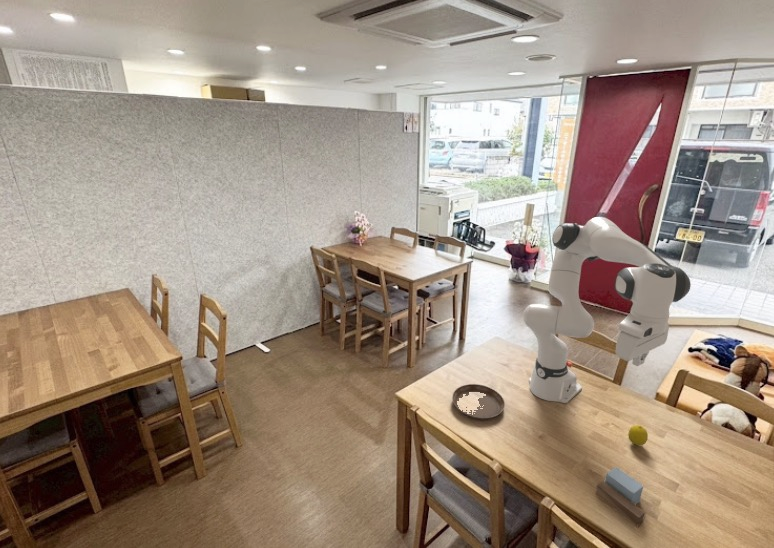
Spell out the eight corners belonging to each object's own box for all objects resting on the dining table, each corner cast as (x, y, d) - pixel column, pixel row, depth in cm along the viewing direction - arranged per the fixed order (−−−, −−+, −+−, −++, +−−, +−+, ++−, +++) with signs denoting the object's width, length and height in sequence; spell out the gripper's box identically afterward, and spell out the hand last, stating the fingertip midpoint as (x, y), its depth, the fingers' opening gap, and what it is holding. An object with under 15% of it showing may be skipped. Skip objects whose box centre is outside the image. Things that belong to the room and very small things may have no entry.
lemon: (642, 440, 134) (647, 422, 131) (647, 452, 129) (651, 433, 126) (624, 437, 136) (629, 419, 133) (628, 448, 131) (632, 429, 128)
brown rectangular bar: (601, 489, 116) (603, 481, 114) (642, 521, 106) (645, 512, 104) (595, 494, 114) (597, 485, 113) (636, 527, 104) (639, 517, 103)
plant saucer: (515, 415, 148) (516, 408, 147) (470, 430, 141) (470, 422, 140) (483, 385, 166) (484, 379, 165) (442, 397, 159) (443, 391, 158)
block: (612, 481, 118) (616, 466, 116) (639, 501, 112) (643, 485, 110) (603, 488, 116) (606, 473, 114) (629, 509, 109) (633, 493, 108)
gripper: (655, 309, 113) (646, 349, 118) (615, 325, 104) (606, 368, 108) (679, 317, 108) (668, 359, 113) (639, 334, 99) (629, 379, 103)
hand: (637, 364), depth 110 cm, fingers closed
